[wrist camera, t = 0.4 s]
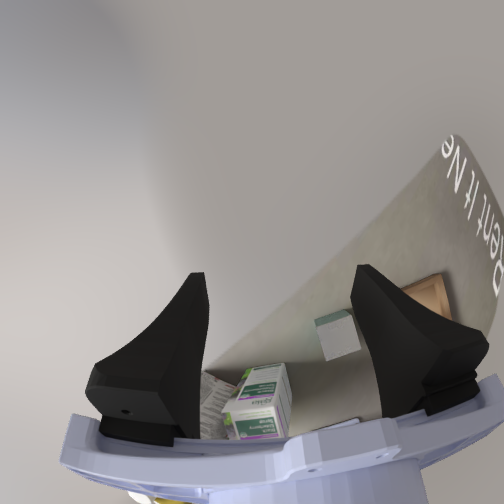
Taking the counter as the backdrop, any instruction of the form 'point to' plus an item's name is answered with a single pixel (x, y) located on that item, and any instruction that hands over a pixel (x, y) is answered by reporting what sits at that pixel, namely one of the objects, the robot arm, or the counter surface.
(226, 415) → the syrup box
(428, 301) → the wooden tray
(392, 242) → the counter surface
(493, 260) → the counter surface
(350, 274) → the counter surface
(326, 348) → the tea tin
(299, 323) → the counter surface
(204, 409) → the juice carton
